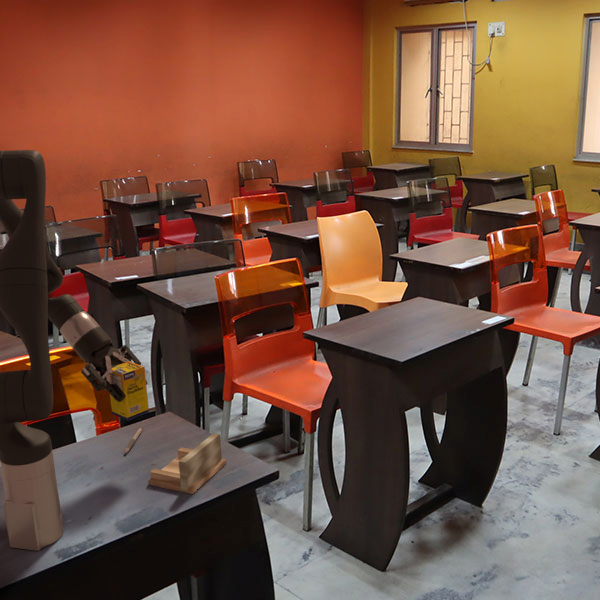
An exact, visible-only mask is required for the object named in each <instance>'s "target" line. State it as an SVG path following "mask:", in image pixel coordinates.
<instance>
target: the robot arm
mask: <svg viewBox="0 0 600 600" xmlns="http://www.w3.org/2000/svg"><path fill="white" fill-rule="evenodd" d="M46 173H47V172H46V164H45V160H44V157H43V155H42V153H41V152H39V151H38V150H35V149H31V150H30V149H22V150H21V149H18V150H17V149H15V150H0V223H1V224H2V227H3V228H4V230H5V232H6V235H7V237H8V241H6V243H5V244H4V246H3V248H2V249H1V251H0V312H1V313H2V314H3V317H5V320H7V321H8V323H9V324H10V325H11V327H13V329H14V330H15V333H17V335H18V337H19V338H20V339H21V341H22V343H23V345H24V347H25V349H26V352H27V355H28V358H29V363H30V369H21V370H20V369H19V370H7V371H0V470H1V477H2V482H3V483H2V484H3V489H4V496H5V500H4V501H3V502H2V505H3V512H4V517H5V522H6V523H5V524H6V530H7V537H8V542H9V547H10V548H14V549H22V550H30V551H36V552H38V551H41V549H43V548H45V547H47V546H49V545H52V544H54V543H56V541H58V540H59V539H60V538H61V537H62V536H63V534H64V532H65V531H64V524H63V517H62V510H61V502H60V495H59V487H58V480H57V475H56V474H57V473H56V467H55V459H54V452H53V446H52V439H51V436H50V435H49V433H47V432H45V431H44V430H41V429H39V428H34V427H31V426H28V425H26V424H23V423H22V422H32V421H43V420H46V419H48V418H49V417H50V416H51V415H52V412H53V407H54V386H53V375H52V374H53V373H52V365H51V354H50V342H49V329H48V327H49V326H48V325H49V324H48V322H49V321H50V322H51V323H52V324H53V325H54V326H55V327H56V329H57V330H58V331H59V332H60V334H61V335H62V336H63V338H64V339H65V341H66V343H68V345H70V347H71V348H72V350H74V352H75V353H76V354H77V355H78V357H79V358H80V359H81V360H82V361H83V362H84V363H85V366H84V367H83V368H82V370H80V371H81V372H80V373H81V374H82V375H83V377H85V379H86V380H87V381H88V382H89V383H90V384H91V386H92V387H93V388H94V389H95V390H96V391H97V392H101V391H103V390H104V391H107V392H108V393H109V395H110V394H111V395H112V397H113V398H114V399H115V400H117V401H118V402H121V401H123V399H124V398H125V397H126V395H125V394H124V393H123V391H122V390H121V389H120V388H119V387H118V386H117V384H116V383H115V384H113V383H114V381H113V377H112V375H113V371H112V368H113V367H115V366H117V365H119V364H122V363H126V362H129V361H130V362H133V363H135V364H138V365H141V366H142V362H141V361H140V359H139V358H138V357H137V356H136V355H135V354H134V352H133V351H132V350H131V349H130V348H129V346H128V345H126V344H123V345H122V346H121V347H120V348H118V349H117V348H115V347H114V346H113V340H112V338H111V337H110V336H109V335H108V334H107V333H106V331H105V330H104V329H103V328H102V327H101V325H100V324H98V322H97V321H96V320H95V319H94V318H93V316H91V315H90V314H89V313H88V312H87V311H86V310H85V309H84V308H83V306H82V305H80V303H79V301H77V300H76V298H75V297H73V295H72V294H66V293H64V294H61V295H59V296H55V297H48V295H50V294H51V293H52V292H54V291H56V290H57V289H59V288H60V287H61V286H62V284H63V281H64V275H63V272H62V271H61V269H60V267H58V265H57V264H56V263H55V261H54V260H53V258H52V256H51V254H50V251H49V247H48V242H47V239H46V238H47V237H46V234H45V233H46V232H45V231H46V229H45V227H46V225H45V224H46V223H45V219H46V192H47V191H46V189H47V188H46V186H47V185H46V183H47V181H46V180H47V177H46V175H47V174H46ZM13 200H25V205H24V208H23V210H22V209H21V208H20V207H19V206H18V205H17V204H16V203H15V202H14V201H13ZM48 319H49V321H48ZM147 385H148V381H147V380H146V386H147Z"/></svg>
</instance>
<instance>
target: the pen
mask: <svg viewBox="0 0 600 600" xmlns="http://www.w3.org/2000/svg"><path fill="white" fill-rule="evenodd" d="M143 430H144V426H142V425H141V426H140V427H138V429H137V431H136V432H135V434H134V436H133V437H132V438H131V440H130V441H129V443H128V444H127V445H126V448H125V449H124V454H128V453H129V452H130V451H131V450H132V447H133V446H134V444H135V443H136V441H137V440H138V438H139V436H140V435H141V434H142V433H143Z"/></svg>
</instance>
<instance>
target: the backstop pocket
mask: <svg viewBox="0 0 600 600" xmlns="http://www.w3.org/2000/svg"><path fill="white" fill-rule="evenodd" d="M221 441H222V440H221V434H220V433H215V432H213V433H212V434H211V435H210V436H208V437H207V438H206V439H205V440H203V441H202V442H201V443H200V444H198V445H196V447H194V448H193V449H192V448H188V447H180V448H179V449H177V456H176V458H174V459H173V460H171V461H170V462H169V463H168V464H166V465H165V466H164V467H162V468H161V469H159V468H153V469H152V470H150V471H149V472H150V474H149V475H150V478H149V479H147V483H148V484H147V485H148V486H153V487H154V486H155V487H158V486H159V488H163V489H168V490H172V491H176V492H181V493H185V494H186V493H187V494H189V495H193V494H195V493H196V492H197V491H198V490H199V488H201V487H202V486H203V485H205V484H206V483H207V481H209V480H210V479H211V478H213V476H214V475H215V474H217V472H219V471H220V470H221V469H222V468H223V467H224V466H225V465H227V459H226V458H225V459H224V458H223V457H222V456H223V455H222V442H221ZM197 489H198V490H197Z"/></svg>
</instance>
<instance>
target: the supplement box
mask: <svg viewBox="0 0 600 600" xmlns="http://www.w3.org/2000/svg"><path fill="white" fill-rule="evenodd" d="M112 371H113V375H112V377H113V381H114V383H113V384H115V383H116V384H117V386H118V387H119V388H120V389H121V390H122V391H123V393H124V394H125V395H126V397H125V398H124V399H123V401H121V402H118V401H117V400H115V399H114V398H113V397H112V395H111V394H110V393H109V399H110V407H111V414H112V415H113V416H116V417H117V418H120V419H122V420H125V421H126V422H127V421H130V420H133V419H135V418H138V417H141V416H144V415H145V414H147V413H149V412H150V409H149V398H148V388H147V385H146V381H147V379H146V367H145V366H143V365H142V364H141V365H138V364H135V363H134V362H133V361H132V362H130V361H129V362H126V363H122V364H119V365H117V366H115V367H113V368H112Z"/></svg>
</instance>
